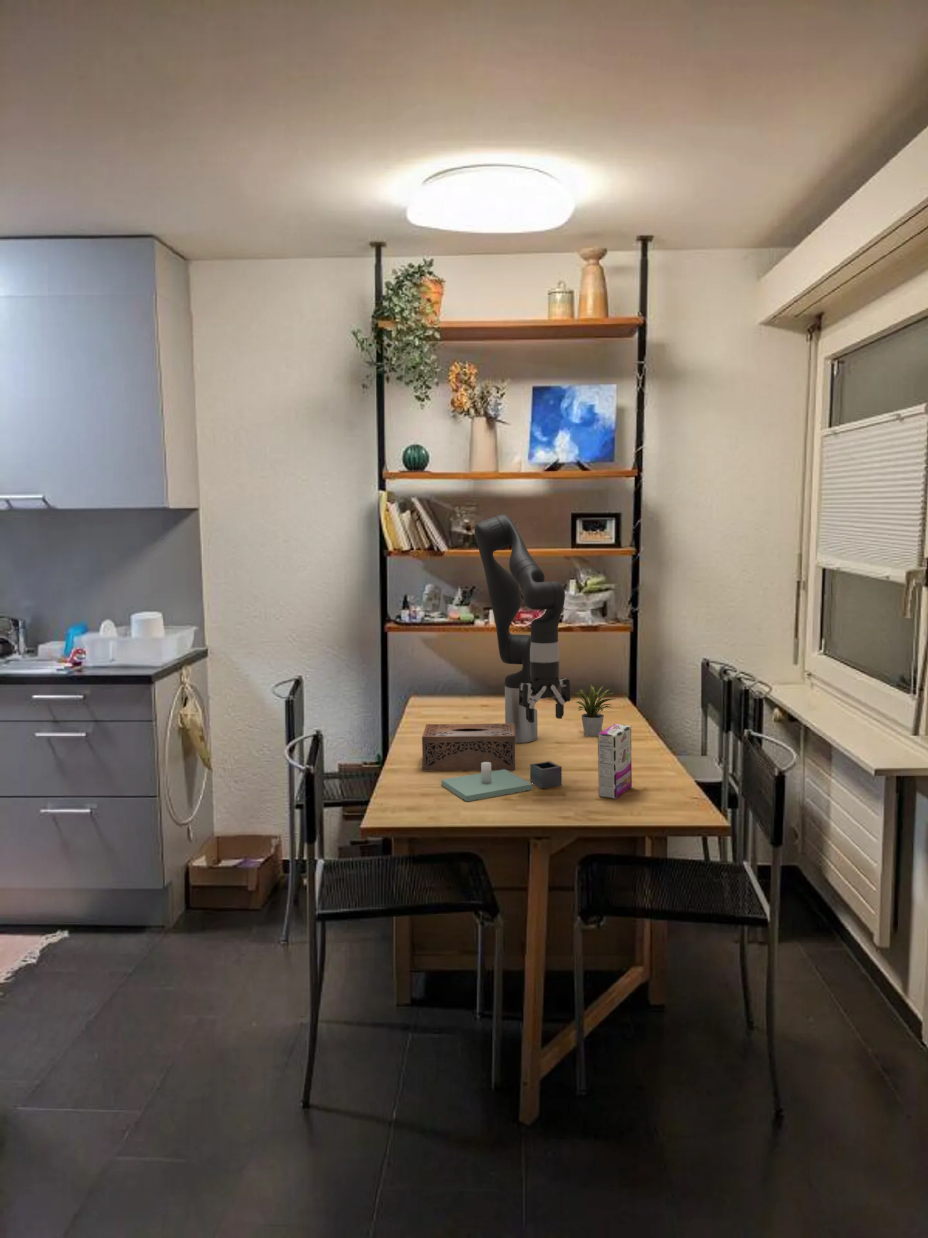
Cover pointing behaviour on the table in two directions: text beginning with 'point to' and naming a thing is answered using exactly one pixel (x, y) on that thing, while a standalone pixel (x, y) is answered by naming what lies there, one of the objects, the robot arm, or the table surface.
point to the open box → (546, 774)
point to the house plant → (592, 712)
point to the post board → (486, 784)
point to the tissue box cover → (468, 746)
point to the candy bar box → (614, 761)
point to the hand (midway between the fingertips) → (544, 720)
